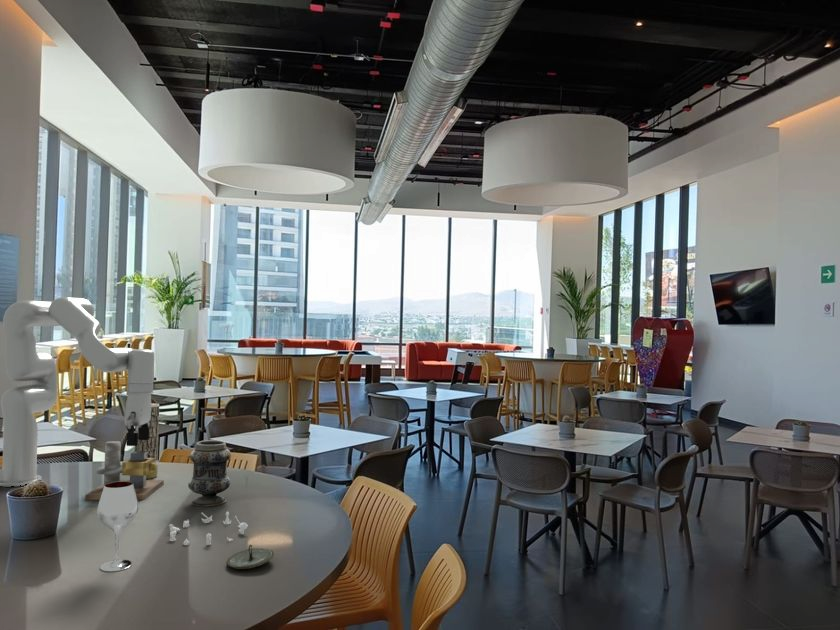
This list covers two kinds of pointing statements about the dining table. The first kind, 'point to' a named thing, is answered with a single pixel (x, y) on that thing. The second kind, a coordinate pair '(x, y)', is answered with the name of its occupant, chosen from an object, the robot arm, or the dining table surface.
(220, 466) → the apothecary jar
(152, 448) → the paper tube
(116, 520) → the wineglass
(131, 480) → the grey rectangular bar
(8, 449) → the robot arm
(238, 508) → the dining table surface
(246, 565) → the lid
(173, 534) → the game piece set
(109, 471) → the board
